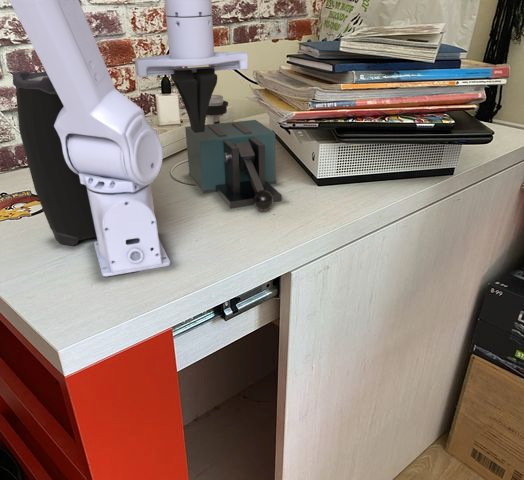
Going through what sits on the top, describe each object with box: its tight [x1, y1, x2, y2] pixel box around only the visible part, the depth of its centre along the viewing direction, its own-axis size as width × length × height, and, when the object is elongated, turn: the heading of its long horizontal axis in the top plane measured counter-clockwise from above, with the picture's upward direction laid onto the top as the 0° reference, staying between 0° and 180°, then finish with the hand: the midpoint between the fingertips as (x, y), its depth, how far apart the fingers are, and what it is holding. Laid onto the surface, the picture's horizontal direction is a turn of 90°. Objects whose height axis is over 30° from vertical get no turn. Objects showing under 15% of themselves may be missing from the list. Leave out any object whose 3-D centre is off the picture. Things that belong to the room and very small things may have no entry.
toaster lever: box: [235, 142, 274, 212], centre depth 78 cm, size 12×3×3 cm, turn 21°
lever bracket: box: [215, 137, 282, 210], centre depth 81 cm, size 10×8×8 cm
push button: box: [206, 94, 229, 125], centre depth 97 cm, size 7×5×10 cm
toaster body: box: [184, 119, 277, 195], centre depth 86 cm, size 9×12×8 cm
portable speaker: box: [12, 70, 97, 247], centre depth 66 cm, size 9×9×20 cm
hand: (197, 130), depth 74 cm, fingers closed
